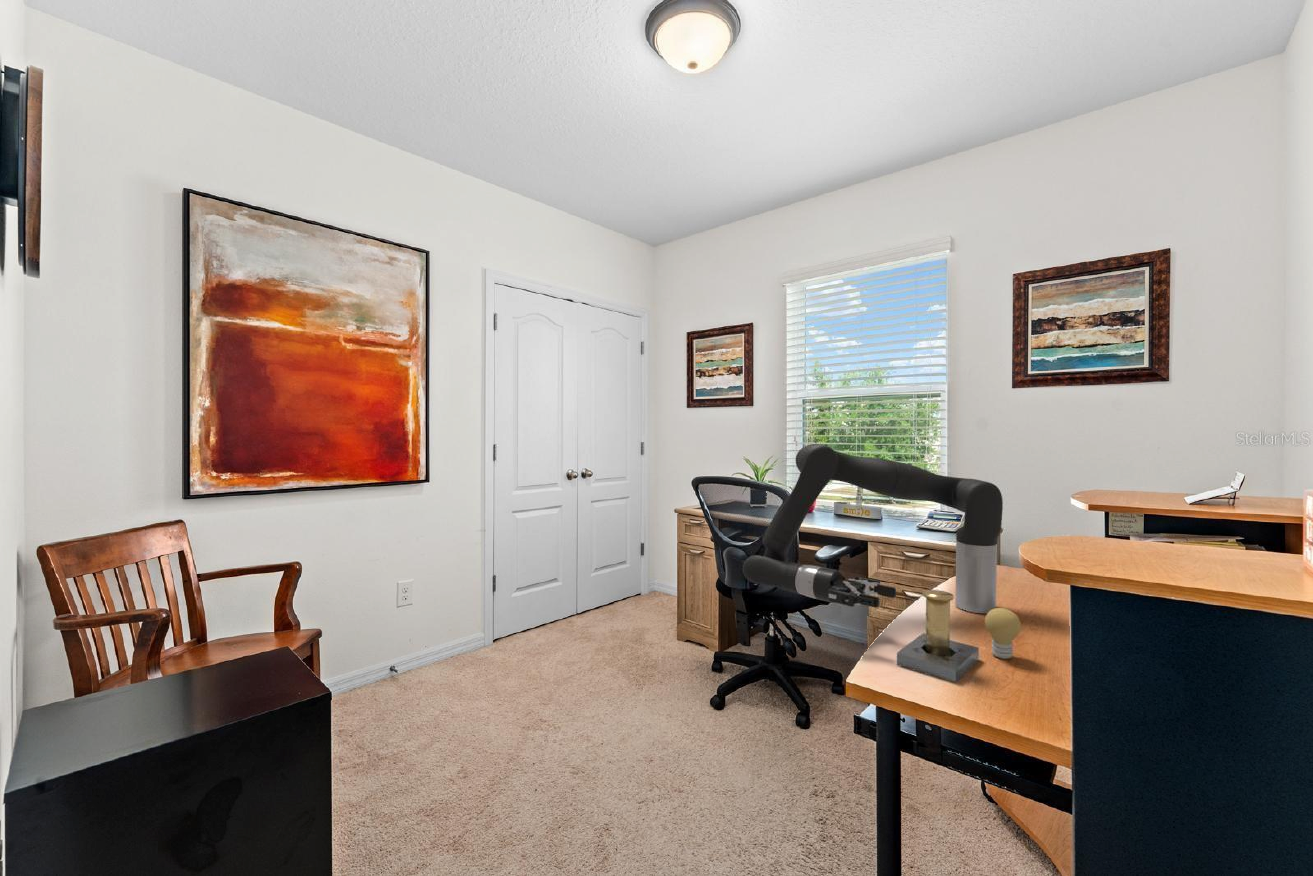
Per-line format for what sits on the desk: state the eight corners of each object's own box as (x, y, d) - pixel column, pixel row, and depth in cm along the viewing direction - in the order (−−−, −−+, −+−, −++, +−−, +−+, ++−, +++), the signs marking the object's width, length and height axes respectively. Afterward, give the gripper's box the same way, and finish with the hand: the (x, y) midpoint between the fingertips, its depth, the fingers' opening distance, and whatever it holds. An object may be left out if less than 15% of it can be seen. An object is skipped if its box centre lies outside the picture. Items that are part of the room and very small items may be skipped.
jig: (923, 644, 124) (923, 633, 124) (978, 659, 116) (978, 647, 116) (896, 664, 114) (896, 652, 114) (955, 682, 106) (955, 670, 106)
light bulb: (1020, 665, 113) (1021, 616, 113) (983, 658, 117) (984, 611, 116) (1020, 654, 119) (1020, 607, 118) (984, 647, 122) (985, 602, 122)
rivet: (927, 653, 119) (928, 588, 119) (956, 661, 115) (957, 593, 115) (918, 662, 115) (918, 594, 115) (947, 670, 111) (948, 600, 111)
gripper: (803, 574, 129) (872, 588, 118) (834, 561, 139) (900, 573, 128) (804, 606, 129) (873, 623, 118) (834, 591, 140) (900, 606, 128)
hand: (887, 597), depth 123 cm, fingers open, 8 cm apart
